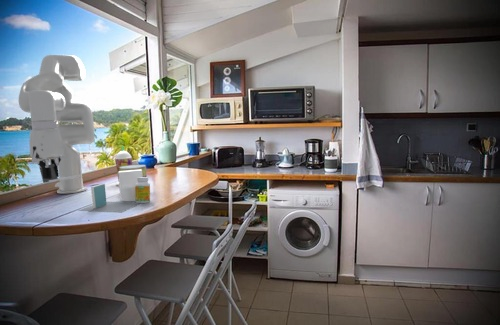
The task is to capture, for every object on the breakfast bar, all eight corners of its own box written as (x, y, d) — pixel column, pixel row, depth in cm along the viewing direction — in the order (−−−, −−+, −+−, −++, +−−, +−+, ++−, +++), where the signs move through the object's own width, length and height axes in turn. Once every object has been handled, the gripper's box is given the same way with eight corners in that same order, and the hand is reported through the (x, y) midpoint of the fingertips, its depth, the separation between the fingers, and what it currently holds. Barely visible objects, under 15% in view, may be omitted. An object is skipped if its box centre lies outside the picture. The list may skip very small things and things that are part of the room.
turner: (40, 183, 113) (36, 167, 112) (52, 180, 118) (48, 164, 117) (71, 178, 109) (67, 161, 108) (82, 175, 114) (78, 159, 113)
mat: (78, 212, 114) (77, 210, 114) (103, 203, 127) (102, 201, 126) (121, 214, 110) (121, 212, 110) (143, 204, 122) (142, 202, 122)
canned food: (151, 189, 149) (150, 164, 147) (141, 195, 138) (139, 168, 136) (128, 190, 150) (126, 165, 148) (116, 195, 139) (114, 168, 137)
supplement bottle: (136, 203, 120) (136, 177, 120) (134, 202, 125) (134, 177, 125) (151, 202, 123) (151, 177, 123) (148, 201, 127) (148, 177, 127)
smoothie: (117, 182, 170) (113, 145, 167) (133, 181, 173) (130, 144, 171) (117, 185, 162) (113, 146, 160) (134, 183, 166) (131, 145, 163)
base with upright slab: (121, 203, 125) (118, 173, 123) (120, 198, 133) (117, 170, 131) (145, 200, 128) (142, 171, 127) (143, 196, 136) (140, 168, 135)
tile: (93, 208, 116) (90, 186, 115) (104, 204, 122) (102, 183, 121) (95, 208, 116) (93, 186, 115) (107, 204, 122) (105, 183, 121)
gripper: (55, 125, 121) (60, 173, 123) (14, 127, 105) (22, 182, 108) (71, 125, 119) (77, 173, 121) (32, 126, 103) (39, 182, 106)
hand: (51, 177), depth 114 cm, fingers closed on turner
